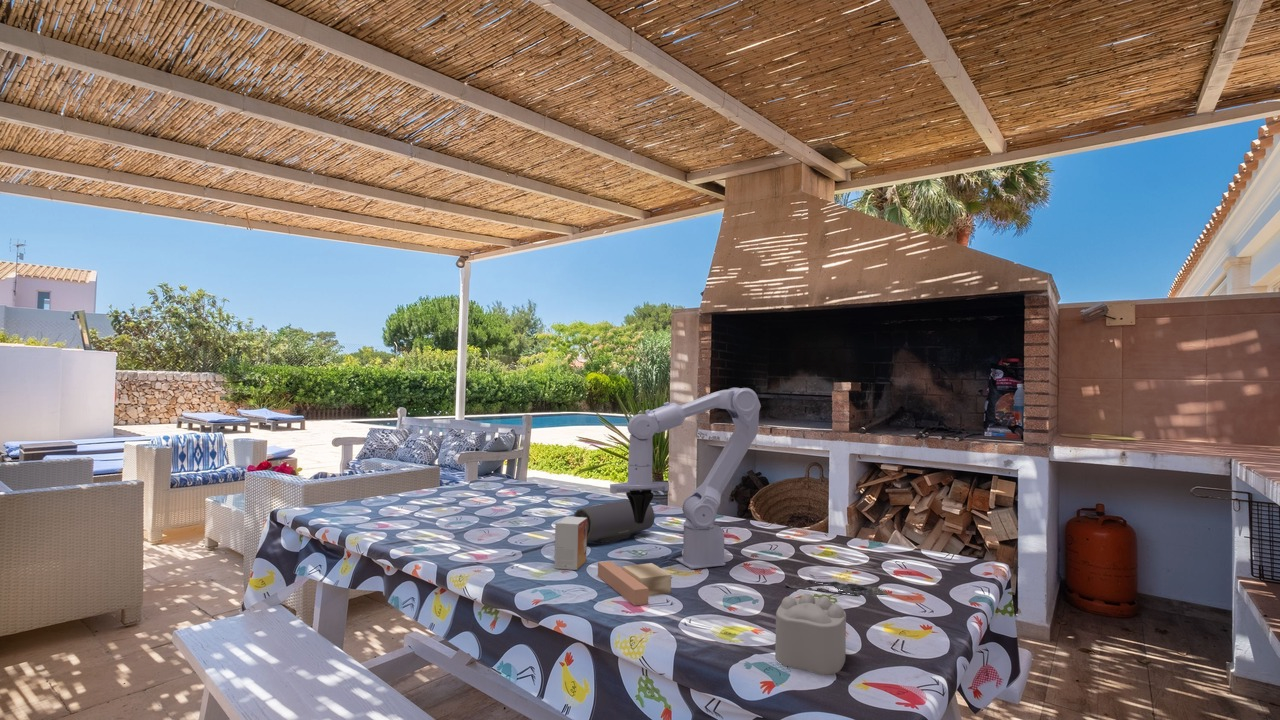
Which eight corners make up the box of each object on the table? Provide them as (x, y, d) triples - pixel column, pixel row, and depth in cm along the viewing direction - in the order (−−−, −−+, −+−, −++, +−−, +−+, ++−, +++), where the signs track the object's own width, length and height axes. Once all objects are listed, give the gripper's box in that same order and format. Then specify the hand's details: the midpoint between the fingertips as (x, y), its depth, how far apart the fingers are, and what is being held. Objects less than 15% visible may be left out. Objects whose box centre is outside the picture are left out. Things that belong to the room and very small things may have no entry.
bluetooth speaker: (633, 530, 186) (634, 495, 186) (655, 536, 179) (656, 500, 179) (570, 541, 170) (571, 504, 171) (591, 548, 163) (593, 509, 164)
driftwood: (887, 593, 135) (887, 583, 135) (888, 604, 129) (888, 593, 129) (789, 582, 142) (789, 573, 142) (785, 591, 136) (785, 581, 136)
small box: (577, 571, 144) (578, 524, 144) (553, 569, 145) (554, 522, 145) (587, 561, 152) (588, 517, 152) (564, 559, 153) (565, 515, 153)
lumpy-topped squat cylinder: (769, 663, 99) (770, 606, 99) (788, 634, 110) (789, 584, 111) (838, 678, 94) (839, 619, 94) (850, 646, 106) (851, 594, 106)
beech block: (651, 581, 139) (651, 562, 139) (670, 594, 130) (671, 574, 131) (622, 585, 136) (622, 566, 136) (640, 598, 127) (640, 578, 128)
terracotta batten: (610, 574, 142) (610, 561, 142) (648, 603, 124) (648, 588, 124) (597, 575, 141) (598, 562, 141) (634, 605, 122) (634, 590, 122)
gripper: (660, 461, 157) (659, 517, 157) (605, 463, 152) (604, 520, 151) (673, 465, 151) (672, 523, 151) (617, 467, 145) (615, 527, 145)
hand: (638, 522), depth 150 cm, fingers closed
